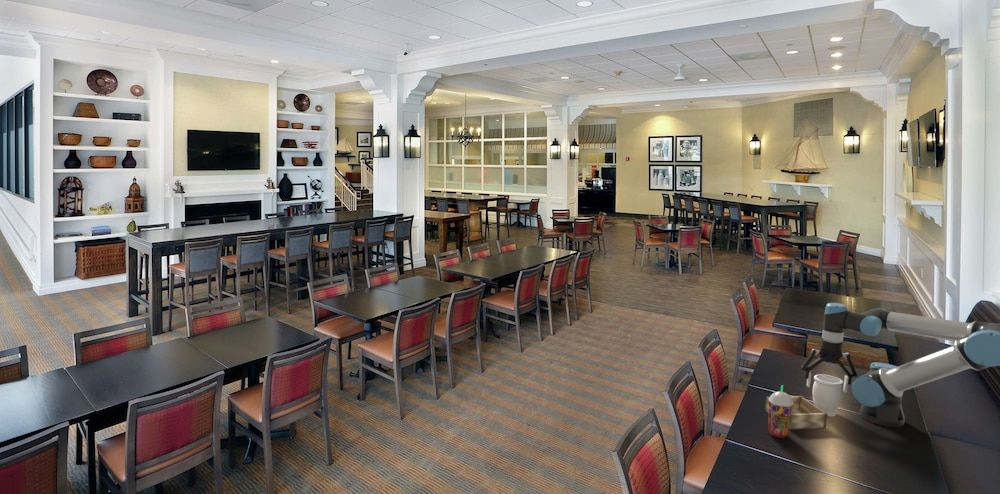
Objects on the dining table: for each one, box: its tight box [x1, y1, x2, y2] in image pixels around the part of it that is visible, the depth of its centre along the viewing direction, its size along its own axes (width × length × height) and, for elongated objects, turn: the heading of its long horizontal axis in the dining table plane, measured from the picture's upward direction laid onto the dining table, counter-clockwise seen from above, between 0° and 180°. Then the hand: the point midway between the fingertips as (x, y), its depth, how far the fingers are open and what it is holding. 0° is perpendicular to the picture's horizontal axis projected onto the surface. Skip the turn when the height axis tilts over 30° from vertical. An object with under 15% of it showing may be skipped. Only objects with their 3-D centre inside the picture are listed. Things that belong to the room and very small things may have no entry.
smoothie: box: [767, 384, 793, 439], centre depth 208 cm, size 8×8×20 cm
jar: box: [811, 373, 844, 418], centre depth 228 cm, size 11×10×15 cm
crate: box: [764, 395, 828, 430], centre depth 222 cm, size 16×17×6 cm
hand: (826, 388), depth 228 cm, fingers open, 13 cm apart
